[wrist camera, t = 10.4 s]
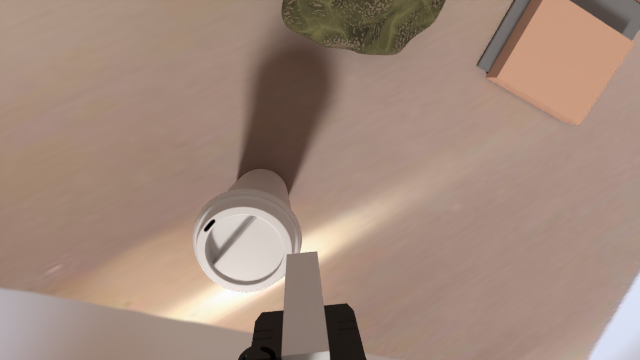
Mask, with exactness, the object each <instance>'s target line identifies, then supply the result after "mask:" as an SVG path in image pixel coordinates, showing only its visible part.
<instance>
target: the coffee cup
mask: <svg viewBox="0 0 640 360" xmlns="http://www.w3.org/2000/svg"><path fill="white" fill-rule="evenodd" d="M301 244H302V234H301V229H300V225H299V222H298V220H297V218H296V216H295V214H294V213H293V211H292V210H291V206H290V201H289V196H288V191H287V187H286V184H285V182H284V181H283V179H282V178H281V177H280V176H279V175H278V174H276V173H275V172H273V171H270V170H267V169H254V170H251V171H249V172H247V173H245V174H244V175H243V176H242V177H241V178H240V179H239V180H238V181H237V182H236V183H235V184H234V185H233V186H232V187H231V188H230V189H229V190H228V191H227V192H225V193H223V194H221V195H219V196H217V197H215V198H214V199H212V200H211V201H210V202H209V203H207V204H206V205H205V207H204V208H203V209H202V210H201V212H200V213H199V215H198V217H197V219H196V221H195V225H194V229H193V248H194V252H195V255H196V258H197V260H198V262H199V264H200V266H201V268H202V269H203V271H204V272H205V274H206V275H207V276H208V277H209V278H210V279H211V280H212V281H214V282H215V283H216V284H218V285H220V286H222V287H224V288H226V289H229V290H232V291H237V292H253V291H258V290H262V289H265V288H267V287H269V286H271V285H272V284H274V283H276V282H277V281H279V280H280V279H281V278H283V277H284V276H285V275H286V256H287V254H295V253H300V250H301Z"/></svg>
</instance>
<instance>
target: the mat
mask: <svg viewBox="0 0 640 360" xmlns="http://www.w3.org/2000/svg"><path fill="white" fill-rule="evenodd" d="M530 1H531V0H514V1H513V3H512V5H511V7H510V8H509V10H508V12H507V14H506V15H505V17H504V19H503V20H502V22H501V24H500V26H499V27H498V29H497V31H496V33H495V34H494V36H493V38H492V40H491V41H490V43H489V45H488V47H487V48H486V50H485V52H484V54H483V55H482V57H481V59H480V61H479V62H478V64H477V66H478V67H479V68H481V69H483V70H485V71H486V72H488V73H489V71H490V69H491V68H492V66H493V64H494V62H495V61H496V59H497V57H498V56H499V54H500V52H501V50H502V49H503V47H504V45H505V44H506V42H507V40H508V38H509V37H510V35H511V33H512V32H513V30H514V28H515V26H516V25H517V23H518V21H519V20H520V18H521V16H522V14H523V13H524V11H525V9H526V8H527V6H528V4H529V2H530ZM570 1H571V2H573V3H575V4H576V5H578V6H579V7H581V8H582V9H584V10H585V11H587V12H588V13H590V14H591V15H593V16H594V17H596V18H598V19H599V20H601V21H602V22H604V23H605V24H607V25H608V26H610V27H611V28H613V29H614V30H616V31H617V32H619V33H621V34H622V35H624V36H625V37H627V38H628V39H630V40H631V41H632V40H633V38H634V37H635V35H636V34H637V32H638V31H639V29H640V4H639V3H637V2H636V1H634V0H570Z"/></svg>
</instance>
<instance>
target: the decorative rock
mask: <svg viewBox="0 0 640 360" xmlns="http://www.w3.org/2000/svg"><path fill="white" fill-rule="evenodd" d="M444 3H445V0H283V4H282V17H283V20H284V23H285V24H286V25H287V27H289V28H290V29H291V30H293V31H294V32H296V33H298V34H301V35H303V36H305V37H307V38H309V39H312V40H314V41H316V42H317V43H319V44H321V45H323V46H325V47H330V48H344V49H349V50H352V51H355V52H357V53H360V54H369V55H395V54H398V53H399V52H400V51H401V50H402V49H403V48H404V47H405V46H406V44H407V43H408V42H409V41H410V40H411V39H412V38H413V37H415V36H416V35H417V34H419V33H420V32H422V31H423V30H425V29H426V28H428V27H429V26H430V25H431V24H432V23H433V22H434V21H435V19H436V18H437V16H438V15H439V13H440V11H441V9H442V7H443V5H444Z"/></svg>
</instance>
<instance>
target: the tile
mask: <svg viewBox="0 0 640 360" xmlns="http://www.w3.org/2000/svg"><path fill="white" fill-rule="evenodd" d="M633 45H634V42H633V41H631V40H630V39H628V38H627V37H625V36H624V35H622V34H621V33H619V32H617V31H616V30H614V29H613V28H611V27H610V26H608V25H607V24H605V23H604V22H602V21H601V20H599V19H598V18H596V17H594V16H593V15H591V14H590V13H588V12H587V11H585V10H584V9H582V8H581V7H579V6H578V5H576V4H575V3H573V2H571V1H570V0H531V1H530V2H529V4H528V6H527V8H526V9H525V11H524V13H523V14H522V16H521V18H520V20H519V21H518V23H517V25H516V26H515V28H514V30H513V32H512V33H511V35H510V37H509V38H508V40H507V42H506V44H505V45H504V47H503V49H502V50H501V52H500V54H499V56H498V57H497V59H496V61H495V62H494V64H493V66H492V68H491V69H490V71H489V73H488V74H487V76H486V78H487V79H489V80H491V81H492V82H494V83H496V84H498V85H500V86H501V87H503V88H505V89H507V90H508V91H510V92H512V93H514V94H515V95H517V96H519V97H521V98H522V99H524V100H526V101H528V102H529V103H531V104H533V105H535V106H537V107H538V108H540V109H542V110H544V111H545V112H547V113H549V114H551V115H552V116H554V117H556V118H558V119H559V120H561V121H563V122H565V123H571V124H577V125H580V124H581V123H582V121H583V120H584V118H585V117H586V115H587V114H588V112H589V111H590V109H591V108H592V106H593V105H594V103H595V102H596V100H597V99H598V97H599V96H600V94H601V93H602V91H603V90H604V88H605V87H606V85H607V84H608V82H609V81H610V79H611V78H612V76H613V75H614V73H615V72H616V70H617V69H618V67H619V66H620V64H621V63H622V61H623V60H624V58H625V57H626V55H627V54H628V52H629V51H630V49H631V48H632V46H633Z"/></svg>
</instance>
